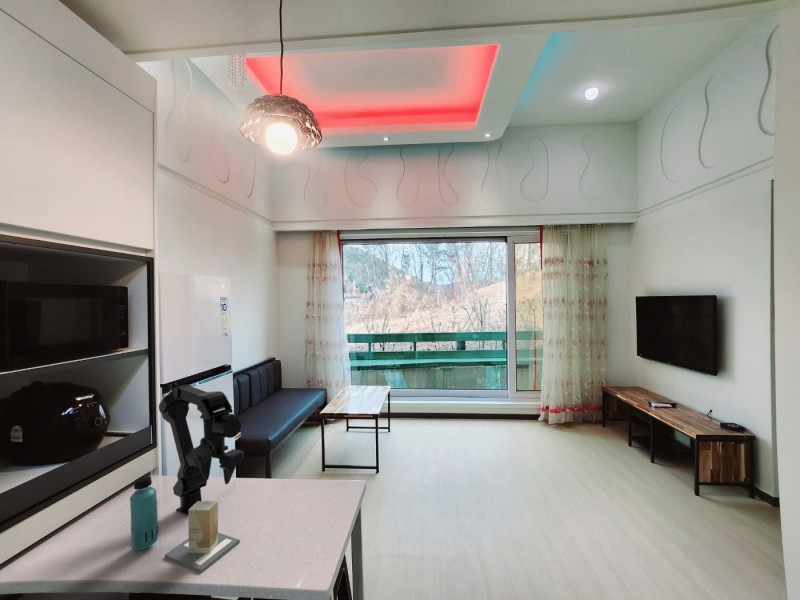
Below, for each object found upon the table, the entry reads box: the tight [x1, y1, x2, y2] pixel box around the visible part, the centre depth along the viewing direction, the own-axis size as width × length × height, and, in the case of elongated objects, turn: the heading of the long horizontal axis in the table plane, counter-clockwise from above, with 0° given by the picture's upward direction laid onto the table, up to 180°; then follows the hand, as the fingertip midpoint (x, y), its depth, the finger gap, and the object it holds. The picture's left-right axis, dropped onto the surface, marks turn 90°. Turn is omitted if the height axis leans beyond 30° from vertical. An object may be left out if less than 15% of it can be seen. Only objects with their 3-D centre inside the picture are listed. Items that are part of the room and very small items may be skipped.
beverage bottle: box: [129, 475, 160, 551], centre depth 99 cm, size 6×7×20 cm
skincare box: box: [188, 500, 219, 553], centre depth 97 cm, size 6×4×12 cm
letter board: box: [163, 532, 241, 574], centre depth 98 cm, size 15×12×1 cm
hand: (216, 481), depth 110 cm, fingers open, 9 cm apart
